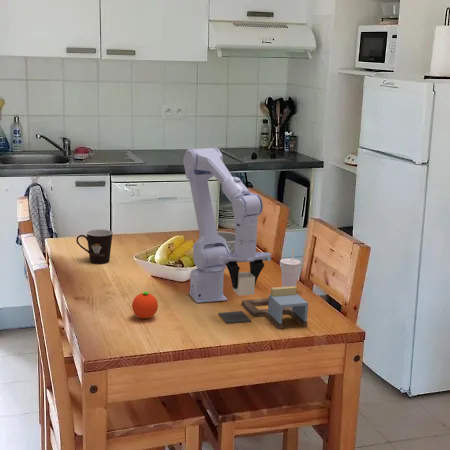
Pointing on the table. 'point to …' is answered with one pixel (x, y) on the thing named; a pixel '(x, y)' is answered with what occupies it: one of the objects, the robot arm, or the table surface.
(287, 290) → the cover
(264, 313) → the puzzle board
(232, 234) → the dog bowl
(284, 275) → the smoothie
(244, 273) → the block
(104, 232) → the coffee mug
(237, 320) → the mat
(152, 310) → the clementine
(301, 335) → the table surface
